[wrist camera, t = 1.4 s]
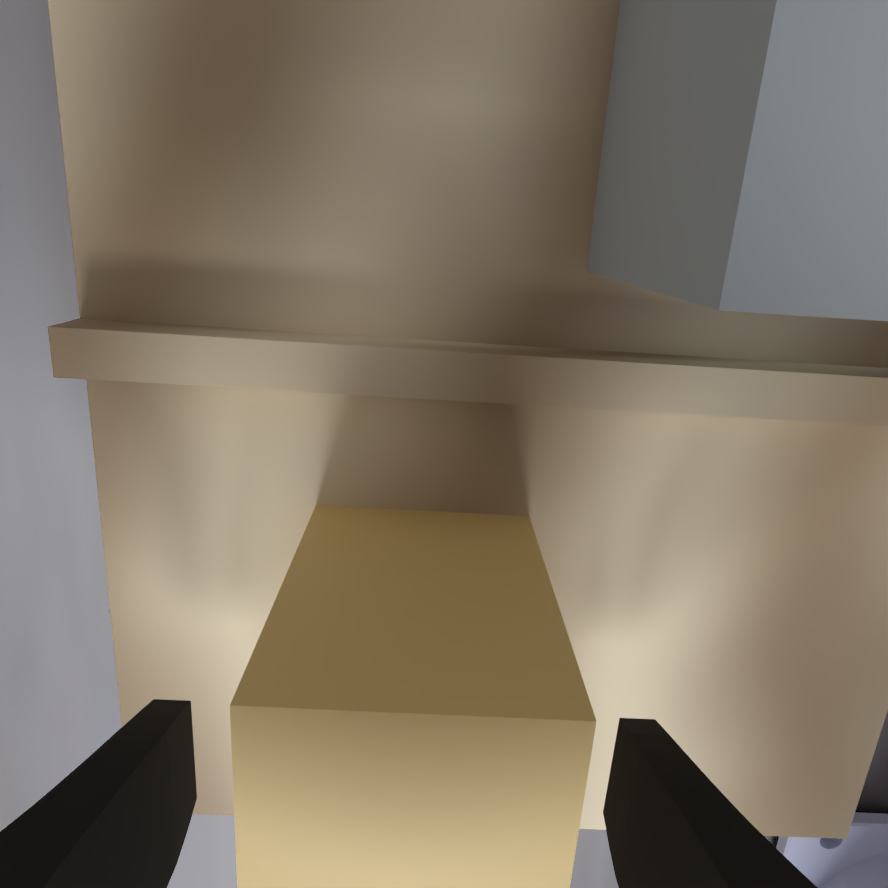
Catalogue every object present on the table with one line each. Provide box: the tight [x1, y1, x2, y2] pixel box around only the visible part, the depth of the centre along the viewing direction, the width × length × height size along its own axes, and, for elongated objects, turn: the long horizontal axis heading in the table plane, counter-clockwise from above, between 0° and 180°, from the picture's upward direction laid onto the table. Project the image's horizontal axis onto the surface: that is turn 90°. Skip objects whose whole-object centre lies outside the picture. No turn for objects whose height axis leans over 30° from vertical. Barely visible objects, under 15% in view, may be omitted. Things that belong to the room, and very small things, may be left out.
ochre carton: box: [230, 505, 597, 888], centre depth 11 cm, size 7×4×6 cm, turn 176°
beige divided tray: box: [48, 0, 888, 839], centre depth 12 cm, size 16×18×2 cm
